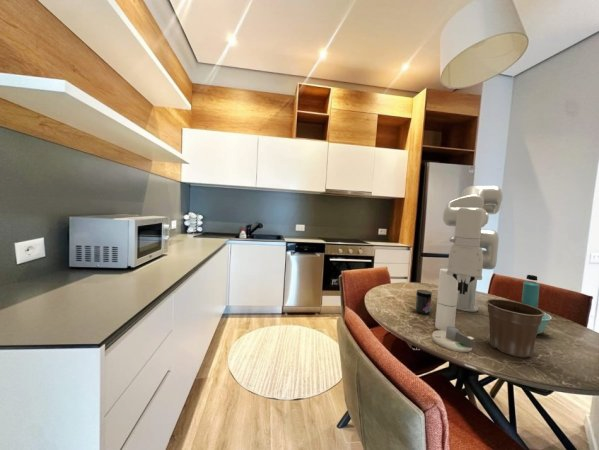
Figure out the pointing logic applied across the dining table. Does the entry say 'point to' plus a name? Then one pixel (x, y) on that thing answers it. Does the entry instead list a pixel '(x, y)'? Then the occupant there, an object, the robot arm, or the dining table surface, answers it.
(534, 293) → the beverage bottle
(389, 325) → the dining table surface
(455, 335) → the friction peg
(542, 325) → the bowl
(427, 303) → the supplement container
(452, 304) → the cylindrical container
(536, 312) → the plant pot
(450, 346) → the dial plate
